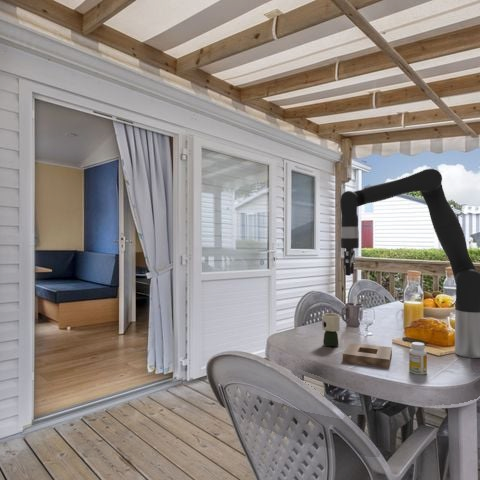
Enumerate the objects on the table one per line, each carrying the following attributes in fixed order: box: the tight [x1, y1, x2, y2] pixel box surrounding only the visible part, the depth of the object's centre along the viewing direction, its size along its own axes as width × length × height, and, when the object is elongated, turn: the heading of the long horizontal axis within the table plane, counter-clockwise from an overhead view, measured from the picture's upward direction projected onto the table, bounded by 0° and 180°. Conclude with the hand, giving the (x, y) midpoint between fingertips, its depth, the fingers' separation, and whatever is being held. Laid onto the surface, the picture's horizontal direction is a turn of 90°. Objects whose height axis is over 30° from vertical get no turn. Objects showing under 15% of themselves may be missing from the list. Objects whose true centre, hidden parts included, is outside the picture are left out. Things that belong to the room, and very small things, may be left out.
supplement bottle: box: [408, 341, 428, 376], centre depth 129 cm, size 5×5×10 cm
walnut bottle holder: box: [342, 342, 393, 369], centre depth 144 cm, size 16×16×3 cm
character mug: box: [321, 312, 341, 348], centre depth 160 cm, size 11×7×13 cm, turn 174°
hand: (349, 274), depth 166 cm, fingers open, 8 cm apart
